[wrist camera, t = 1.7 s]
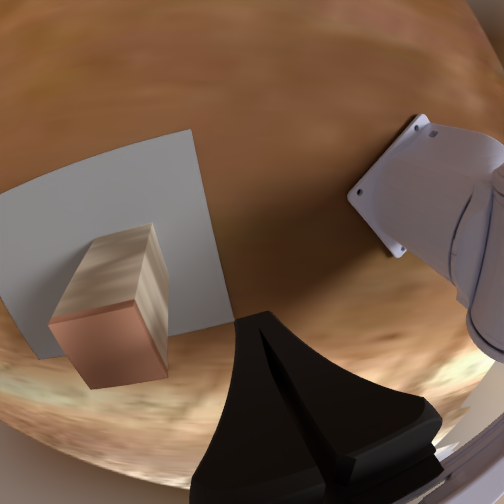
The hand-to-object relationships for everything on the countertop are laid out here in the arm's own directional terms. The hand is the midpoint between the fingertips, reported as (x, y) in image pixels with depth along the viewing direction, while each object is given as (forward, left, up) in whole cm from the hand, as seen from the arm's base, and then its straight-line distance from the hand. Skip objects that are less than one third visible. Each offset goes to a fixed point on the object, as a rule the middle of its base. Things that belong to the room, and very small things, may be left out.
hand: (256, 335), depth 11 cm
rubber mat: (+8, -6, -10) cm, 14 cm away
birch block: (+5, -4, -10) cm, 12 cm away
